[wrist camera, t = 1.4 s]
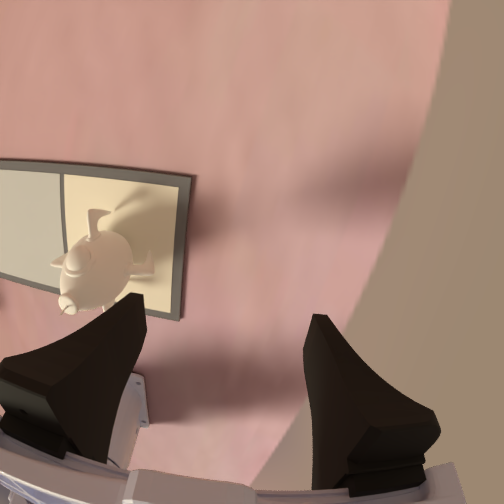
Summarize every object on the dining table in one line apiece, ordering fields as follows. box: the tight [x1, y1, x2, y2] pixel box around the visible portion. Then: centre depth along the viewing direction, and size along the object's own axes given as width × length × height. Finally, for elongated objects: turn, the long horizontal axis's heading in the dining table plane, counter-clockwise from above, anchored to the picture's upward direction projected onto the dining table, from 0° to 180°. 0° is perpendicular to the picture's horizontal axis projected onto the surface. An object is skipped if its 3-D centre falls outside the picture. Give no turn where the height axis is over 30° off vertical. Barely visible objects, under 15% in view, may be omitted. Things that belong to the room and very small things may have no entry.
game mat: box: [0, 160, 192, 321], centre depth 21 cm, size 11×27×1 cm, turn 80°
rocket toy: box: [50, 209, 155, 315], centre depth 17 cm, size 5×5×8 cm
